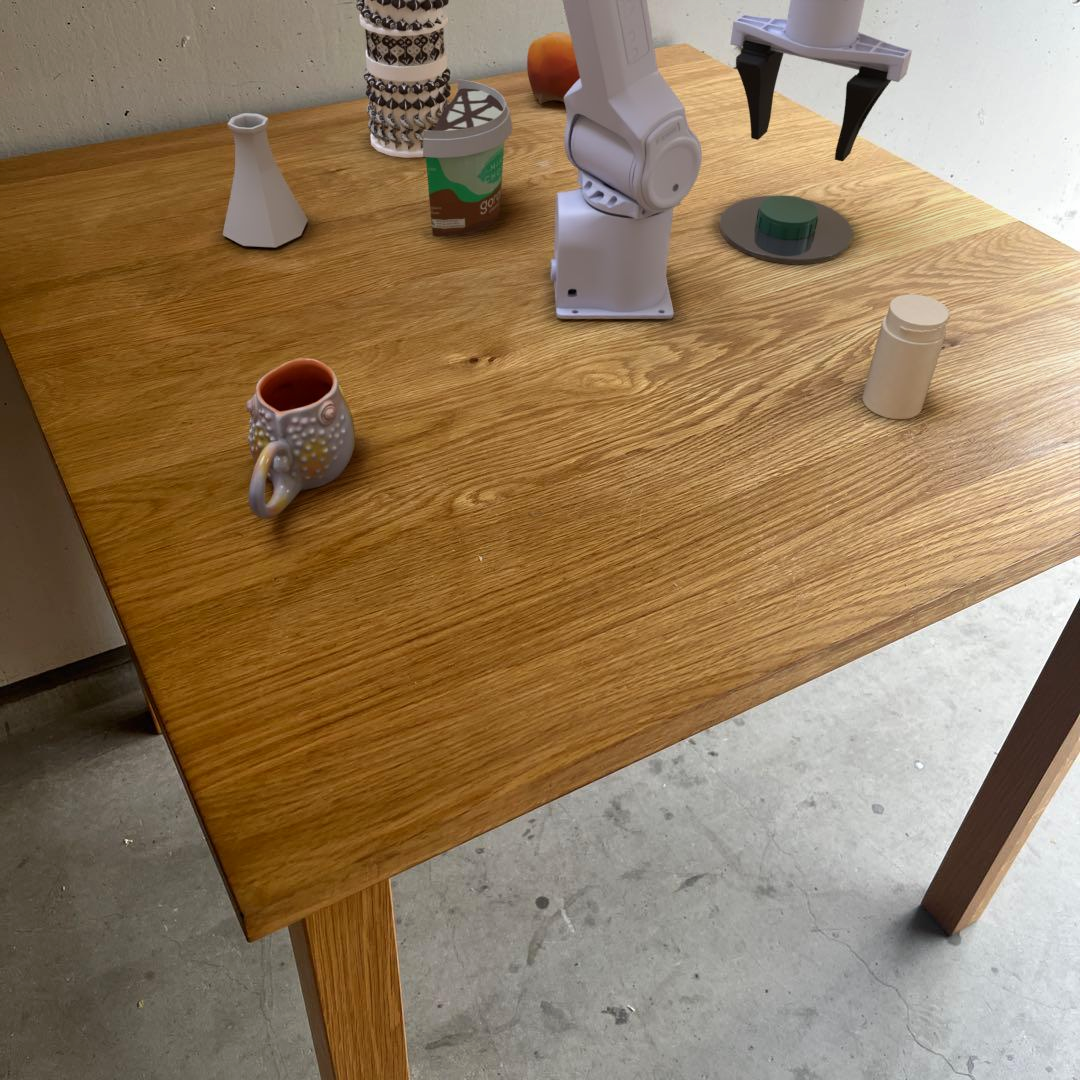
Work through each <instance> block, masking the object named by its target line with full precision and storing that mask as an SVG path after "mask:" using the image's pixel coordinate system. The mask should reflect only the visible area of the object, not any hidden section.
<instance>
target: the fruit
mask: <svg viewBox="0 0 1080 1080" xmlns="http://www.w3.org/2000/svg"><path fill="white" fill-rule="evenodd" d="M526 59H527V60H526V69H527V77H528V82H529V84H530V88H531V91H532V94H533V95H534V96H535V97H536V98H537V99H538V102H539V104H540V106H541V105H542V104H543V103H546V102H550V101H559V102H562V103H565V102H564V96H565V95H566V93H567V92H568V91H569V90H570V88H571V87H572V86H573V85H574V84H575V83H576V82H577V81H578V80H579V79H580V75H579V71H578V66H577V62H576V57H575V53H574V48H573V44H572V40H571V35H570V33H565V32H562V31H552V32H549V33H546V34H545V35H543V36H540V37H539V38H537V39H536V38H535V39H533V40H532V42H531V43H530V45H529V47H528V51H527V58H526Z"/></svg>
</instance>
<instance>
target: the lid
mask: <svg viewBox="0 0 1080 1080" xmlns="http://www.w3.org/2000/svg"><path fill="white" fill-rule="evenodd" d="M772 196H773V197H769V198H767V199H765V200H763V201H762V202H761V204H760V207H759V209H758V214H757V220H756V221H757V225H758V228H759V229H760V230H761V231H763V232H764V233H766V234H768V235H770V236H772V237H776V238H780V239H788V240H795V239H802V238H805V237H808V236H810V235H811V234H812V233H813V232H814V230H815V229H816V226H817V221H818V217H817V216H818V209H817V207H816V206H815V205H814V204H813V203H811V202H809V201H807V200H808V199H806V200H805V198H802V197H799V196H793V195H772Z"/></svg>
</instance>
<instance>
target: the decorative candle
mask: <svg viewBox="0 0 1080 1080" xmlns="http://www.w3.org/2000/svg"><path fill="white" fill-rule="evenodd" d="M449 2H450V0H356V9H357V10H358V11H359V12H360V13H359V25H360V26H361V27H362V28H363V29H365V30H364V31H365V41H366V49H365V60H366V68H365V70H364V73H363V79H364V80H365V82H366V84H367V85H366V88H365V91H364V93H365V95H366V96H367V98H368V100H369V102H368V104H367V106H366V114H367V116H368V117H369V121H368V124H367V127H368V130H369V133H370V137H369V138H370V145H371V147H373V149H375V150H376V151H377V152H378V153H382V154H385V155H387V156H390V157H396V158H404V159H410V158H411V159H412V158H413V159H415V158H424V157H423V139H424V130H430V131H433V129H434V128H435V126H436V124H437V122H438V120H439V118H440V116H441V114H442V112H443V110H444V109H445V107H446V106H448V105H449V104H450V103H451V102H450V99H449V97H451V90H452V88H451V85H450V84H449V81H450V79H451V69H449V68H448V59H447V58H448V57H447V51H446V47H445V35H444V34H445V32H444V30H445V29H444V28H445V26H446V25H447V24H448V23H449V19H448V14H447V10H445V9H443V8H444V7H445V6H447V5H449Z"/></svg>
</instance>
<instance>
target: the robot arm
mask: <svg viewBox="0 0 1080 1080" xmlns="http://www.w3.org/2000/svg"><path fill="white" fill-rule="evenodd" d="M865 2H866V0H789V6H788V13H787V18H776V17H767V16H757V15H756V16H755V15H749V14H745V13H743V14H741V15H740V16H738V17H737V18H736V19H734V20H733V22H732V27H731V28H732V30H731V36H730V45H732V46H736V47H740V48H741V51H740V53H739V54H738V55H737V56H736V58H735V68H736V70H737V73H738V74H739V77H740V80H741V83H742V86H743V88H744V92H745V96H746V101H747V106H748V113H749V123H750V124H749V125H750V138H751V139H752V140H756V141H759V140H760V139H761V138H762V137H763V136H764V135H765V134H767V133H768V130H769V126H770V122H771V117H772V109H773V102H774V101H773V100H774V93H775V89H776V84H777V80H778V77H779V76H778V75H779V71H780V68H781V64H782V61H783V58H784V54H786V55H789V56H790V55H791V56H793V57H794V56H795V57H799V58H803V59H808V60H812V61H817V62H821V63H826V64H829V65H835V66H840V67H844V68H849V69H853V70H857V71H858V72H857V73H856V74H855V75H853V76H852V77H851V78H850V79H849V80H848V81H847V82H846V87H845V101H844V112H843V116H842V117H843V118H842V125H841V129H840V132H839V135H838V139H837V143H836V148H835V153H834V160H835V161H838V162H844V161H845V160H846V159H847V158H848V157H849V155H850V154H851V152H852V149H853V147H854V144H855V142H856V140H857V137H858V134H859V132H860V131H861V129H862V126H863V125H864V123H865V121H866V119H867V117H868V116H869V114H870V112H871V111H872V109H873V108H874V106H875V105H876V103H877V102H878V100H879V99H880V97H881V96H882V95H883V93H884V91H885V90H886V89H887V87H888V86H889V85H890V83H891V82H896V83H900V81H901V80H903V79H904V77H905V76H906V75H907V74H908V69H909V65H910V61H911V57H912V52H913V50H912V49H910V48H905V47H901V46H898V45H895V44H892V43H888V42H886V41H883V40H882V39H881V40H880V39H878V38H875V37H874V36H873V37H872V36H871V35H867V34H865V33H861V32H859V30H860V24H861V21H862V16H863V11H864V6H865ZM562 3H563V9H564V13H565V17H566V21H567V26H568V30H569V34H570V35H571V40H572V44H573V48H574V53H575V57H576V62H577V66H578V71H579V75H580V79H579V80H578V81H577V82H576V83H575V84H574V85H573V86H572V87H571V88H570V90H569V91H568V92H567V93H566V95H565V96H564V102H563V103H564V106H565V112H566V124H565V131H564V136H563V146H564V151H565V155H566V157H567V160H568V162H570V164H571V165H572V166H573V167H574V168H575V169H577V185H579V186H580V188H575V189H573V190H568V191H559V192H557V193H556V194H555V206H554V207H555V208H554V209H555V210H554V242H553V246H554V247H553V258H552V259H550V282H552V283H553V288H554V300H555V301H554V302H555V314H556V318H558V319H560V320H669V319H672V318H674V312H675V311H674V308H673V307H674V306H673V303H672V298H671V293H670V289H669V285H668V284H669V283H668V280H667V271H668V263H669V261H668V260H669V254H670V253H669V252H670V242H671V235H672V225H673V216H674V208H675V207H678V206H680V205H681V202H682V201H683V200H684V199H685V198H686V197H687V196H688V195H689V193H690V192H691V190H692V189H693V188H694V185H695V184H696V181H697V179H698V177H699V173H700V170H701V166H702V159H703V158H702V157H703V156H702V155H703V154H702V153H703V151H702V144H701V142H700V139H699V138H698V136H697V134H695V132H694V131H693V130H692V129H691V127H690V126H689V123H688V119H687V113H686V108H685V106H684V104H683V102H682V101H681V99H679V96H678V95H677V94H676V93H675V92H674V91H673V89H672V88H671V86H670V85H669V84H668V82H667V81H666V80H665V78H664V77H663V75H662V74H661V73H660V71H659V67H658V60H657V54H656V48H655V44H654V37H653V30H652V24H651V19H650V11H649V6H648V0H562Z"/></svg>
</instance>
